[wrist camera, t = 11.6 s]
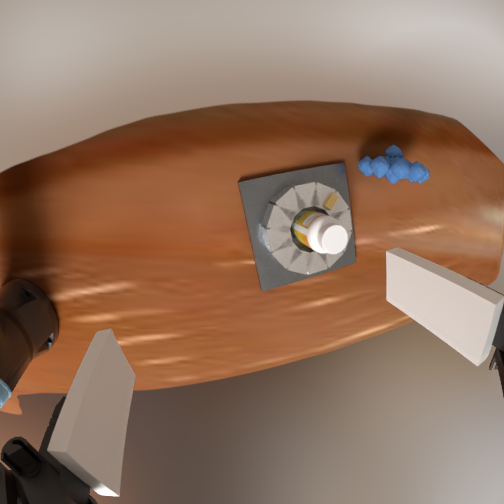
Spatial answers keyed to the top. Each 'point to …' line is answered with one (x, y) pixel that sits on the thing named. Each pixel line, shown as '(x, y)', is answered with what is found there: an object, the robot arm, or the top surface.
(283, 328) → the top surface
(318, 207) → the hub plate
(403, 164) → the grapes
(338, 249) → the supplement bottle
